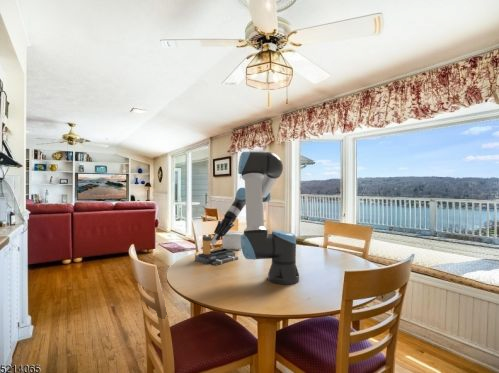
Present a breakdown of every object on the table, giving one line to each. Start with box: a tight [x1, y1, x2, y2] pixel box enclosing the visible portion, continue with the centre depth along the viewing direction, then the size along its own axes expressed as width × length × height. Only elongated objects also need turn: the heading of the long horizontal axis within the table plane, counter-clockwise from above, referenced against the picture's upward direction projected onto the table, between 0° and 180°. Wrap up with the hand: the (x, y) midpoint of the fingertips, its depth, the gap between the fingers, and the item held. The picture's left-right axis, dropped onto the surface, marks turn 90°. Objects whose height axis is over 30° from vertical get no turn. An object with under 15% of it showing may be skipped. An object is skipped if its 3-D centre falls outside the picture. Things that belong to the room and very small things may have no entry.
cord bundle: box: [210, 255, 239, 266], centre depth 166 cm, size 18×5×2 cm, turn 138°
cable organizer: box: [221, 230, 244, 251], centre depth 201 cm, size 15×11×12 cm
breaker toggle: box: [202, 235, 212, 256], centre depth 167 cm, size 4×4×11 cm
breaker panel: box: [194, 247, 236, 265], centre depth 172 cm, size 22×12×4 cm, turn 138°
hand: (212, 243), depth 170 cm, fingers closed
